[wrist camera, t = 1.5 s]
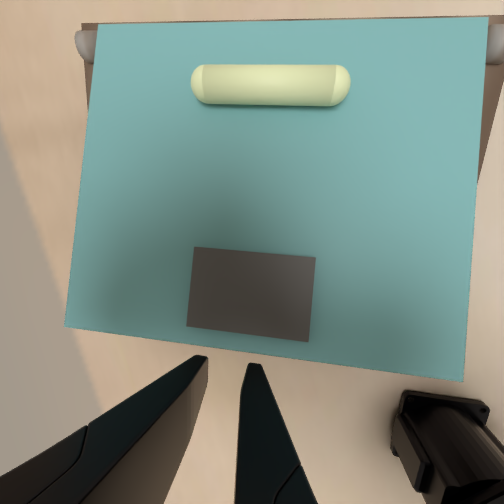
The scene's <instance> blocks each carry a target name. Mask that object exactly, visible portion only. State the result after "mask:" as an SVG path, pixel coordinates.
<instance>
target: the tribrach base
mask: <svg viewBox="0 0 504 504" xmlns="http://www.w3.org/2000/svg"><path fill="white" fill-rule="evenodd" d="M461 17H489V20H488V34H487V48H486V63H485V77H484V91H483V105H482V119H481V134H480V148H479V162H478V176H477V183H478V179H479V175H480V171H481V168H482V164H483V160H484V156H485V152H486V148H487V144H488V140H489V136H490V132H491V128H492V124H493V120H494V116H495V112H496V108H497V105H498V101H499V97H500V93H501V89H502V85H503V81H504V15H484V16H433V17H381V18H329V19H278V20H226V21H174V22H123V23H81V25H82V31H77V32H76V33H75V44H76V47H77V50H78V52H79V54H80V56H81V57H82V58H83V59H84V65H85V79H86V92H87V106H88V110H89V102H90V93H91V84H92V75H93V66H94V57H95V48H96V39H97V31H98V24H141V23H194V22H248V21H301V20H355V19H408V18H461Z"/></svg>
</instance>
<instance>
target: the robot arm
mask: <svg viewBox="0 0 504 504" xmlns="http://www.w3.org/2000/svg"><path fill="white" fill-rule="evenodd" d="M207 382H208V357H207V356H201V355H195V356H193V357H191V358H190V359H188V360H187V361H185V362H183V363H182V364H180V365H179V366H177V367H176V368H174V369H173V370H171V371H169V372H168V373H166V374H165V375H163V376H162V377H160V378H158V379H157V380H155V381H154V382H152V383H151V384H149V385H148V386H146V387H144V388H143V389H141V390H140V391H138V392H137V393H135V394H134V395H132V396H130V397H129V398H127V399H126V400H124V401H123V402H121V403H119V404H118V405H116V406H115V407H113V408H112V409H110V410H109V411H107V412H105V413H104V414H102V415H101V416H99V417H98V418H96V419H95V420H93V421H91V422H90V423H89V424H88V426H87V425H86V426H83V427H82V428H80V429H79V430H77V431H76V432H74V433H72V434H71V435H70V436H68V437H66V438H65V439H63V440H61V441H60V442H58V443H56V444H55V445H54V446H52V447H50V448H48V449H47V450H45V451H43V452H42V453H40V454H39V455H37V456H35V457H33V458H32V459H30V460H28V461H26V462H25V463H23V464H21V465H20V466H18V467H16V468H14V469H13V470H11V471H9V472H7V473H6V474H4V475H2V476H0V504H164V501H165V499H166V497H167V494H168V492H169V490H170V487H171V485H172V482H173V480H174V478H175V475H176V473H177V470H178V468H179V466H180V463H181V461H182V458H183V456H184V454H185V451H186V449H187V446H188V444H189V441H190V439H191V436H192V433H193V430H194V426H195V423H196V420H197V417H198V413H199V410H200V407H201V403H202V400H203V397H204V394H205V390H206V387H207ZM409 397H411V398H410V399H408V398H409ZM489 413H490V409H489V407H488V406H487V405H486V404H485V403H484V402H481V401H474V400H467V399H460V398H454V397H447V396H440V395H433V394H426V393H419V392H412V391H406V392H404V393H403V395H402V399H401V403H400V408H399V412H398V414H397V415H396V418H395V423H394V427H393V431H392V436H391V440H392V442H391V446H390V449H391V451H392V453H393V455H394V456H397V457H400V460H401V462H402V464H403V466H404V469H405V471H406V473H407V475H408V478H409V480H410V482H411V484H412V487H413V488H414V489H415V491H416V492H419V493H422V495H423V498H424V500H425V502H426V504H504V446H503V445H502V444H501V442H500V441H499V440H498V439H497V438H496V437H495V436H494V435H493V433H492V432H491V431H490V430H489V429H488V428H487V427H486V426H485V425H486V422H487V419H488V416H489ZM234 504H318V503H317V501H316V498H315V496H314V494H313V491H312V489H311V487H310V484H309V482H308V479H307V477H306V474H305V472H304V469H303V467H302V466H301V462H300V460H299V457H298V455H297V452H296V450H295V447H294V445H293V442H292V440H291V437H290V435H289V432H288V430H287V427H286V425H285V422H284V420H283V417H282V415H281V412H280V410H279V407H278V405H277V402H276V400H275V397H274V395H273V392H272V390H271V387H270V385H269V382H268V380H267V377H266V375H265V372H264V370H263V367H262V365H261V364H257V363H249V364H248V366H247V369H246V373H245V376H244V380H243V384H242V387H241V393H240V407H239V423H238V440H237V456H236V473H235V491H234Z"/></svg>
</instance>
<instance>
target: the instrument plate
mask: <svg viewBox="0 0 504 504" xmlns="http://www.w3.org/2000/svg"><path fill="white" fill-rule="evenodd" d="M488 20H489V17H461V18H408V19H355V20H301V21H248V22H194V23H141V24H98V31H97V39H96V48H95V57H94V66H93V75H92V84H91V93H90V102H89V110H88V119H87V128H86V137H85V146H84V155H83V164H82V172H81V181H80V190H79V199H78V208H77V217H76V226H75V234H74V243H73V252H72V261H71V270H70V279H69V288H68V297H67V305H66V314H65V323H64V327H69V328H76V329H83V330H90V331H98V332H105V333H112V334H119V335H126V336H134V337H141V338H148V339H155V340H162V341H170V342H177V343H184V344H191V345H199V346H206V347H213V348H220V349H227V350H235V351H242V352H249V353H256V354H263V355H271V356H278V357H285V358H292V359H299V360H307V361H314V362H321V363H328V364H336V365H343V366H350V367H357V368H364V369H372V370H379V371H386V372H393V373H400V374H408V375H415V376H422V377H429V378H436V379H444V380H451V381H458V382H463V375H464V361H465V347H466V332H467V318H468V304H469V290H470V276H471V261H472V247H473V233H474V219H475V205H476V190H477V176H478V162H479V148H480V134H481V119H482V105H483V91H484V77H485V63H486V48H487V34H488Z"/></svg>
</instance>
